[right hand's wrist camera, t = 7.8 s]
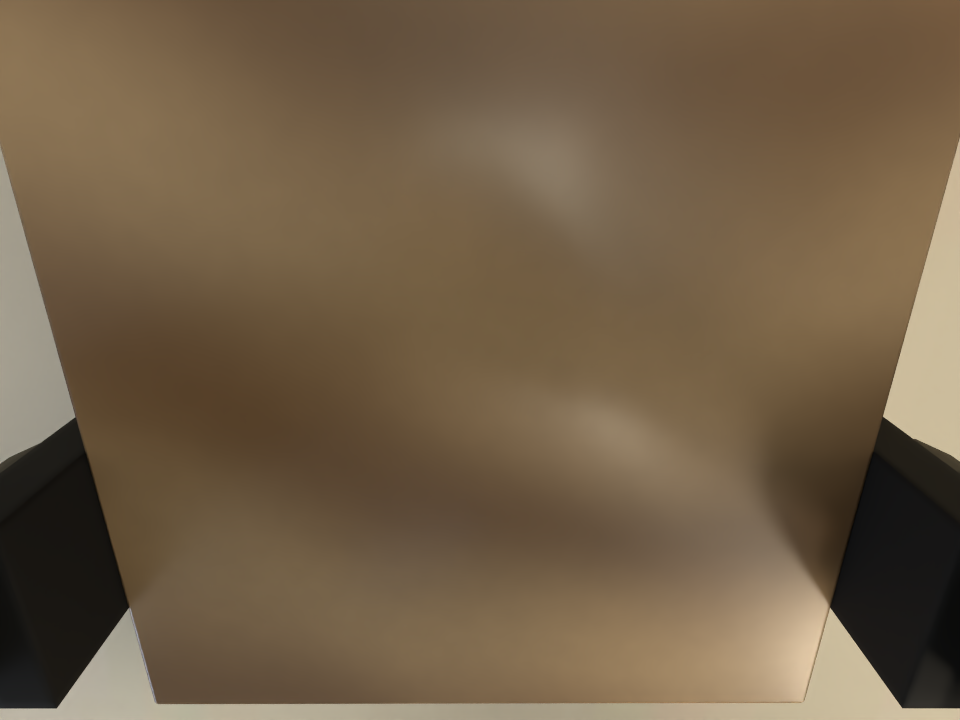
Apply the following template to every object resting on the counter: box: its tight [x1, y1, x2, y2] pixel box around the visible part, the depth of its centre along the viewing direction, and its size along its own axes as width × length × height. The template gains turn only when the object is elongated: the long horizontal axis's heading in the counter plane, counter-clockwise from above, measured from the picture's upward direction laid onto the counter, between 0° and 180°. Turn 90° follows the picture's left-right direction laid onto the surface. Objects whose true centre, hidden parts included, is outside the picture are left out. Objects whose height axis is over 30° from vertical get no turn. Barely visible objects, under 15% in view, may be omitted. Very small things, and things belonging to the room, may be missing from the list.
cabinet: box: [0, 0, 960, 704], centre depth 10 cm, size 20×11×10 cm, turn 0°
